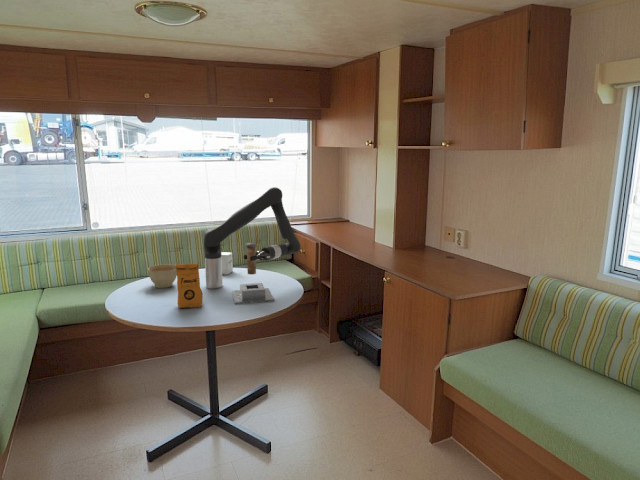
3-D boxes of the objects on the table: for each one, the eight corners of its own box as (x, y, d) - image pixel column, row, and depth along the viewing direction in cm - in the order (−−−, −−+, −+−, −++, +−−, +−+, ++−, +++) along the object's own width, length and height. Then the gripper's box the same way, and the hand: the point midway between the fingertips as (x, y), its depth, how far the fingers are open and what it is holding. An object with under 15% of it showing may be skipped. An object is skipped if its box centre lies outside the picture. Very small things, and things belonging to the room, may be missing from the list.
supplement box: (228, 274, 286) (228, 255, 284) (217, 273, 288) (216, 254, 285) (233, 271, 293) (232, 252, 291) (222, 270, 295) (221, 251, 292)
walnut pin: (247, 275, 238) (246, 245, 235) (245, 272, 243) (245, 243, 240) (257, 274, 239) (257, 244, 236) (256, 271, 245) (255, 242, 242)
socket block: (235, 304, 232) (234, 294, 231) (232, 292, 251) (231, 282, 250) (274, 301, 237) (273, 291, 236) (268, 289, 256) (268, 280, 255)
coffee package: (202, 308, 225) (200, 265, 221) (176, 310, 223) (173, 266, 219) (204, 302, 235) (202, 260, 231) (179, 303, 233) (176, 261, 229)
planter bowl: (177, 289, 257) (176, 270, 254) (147, 291, 253) (146, 272, 251) (179, 281, 272) (178, 263, 270) (150, 282, 268) (149, 264, 266)
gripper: (262, 244, 254) (238, 249, 241) (280, 247, 245) (256, 253, 232) (262, 257, 256) (238, 262, 243) (280, 261, 247) (256, 267, 234)
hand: (247, 258), depth 238 cm, fingers closed on walnut pin, 4 cm apart
